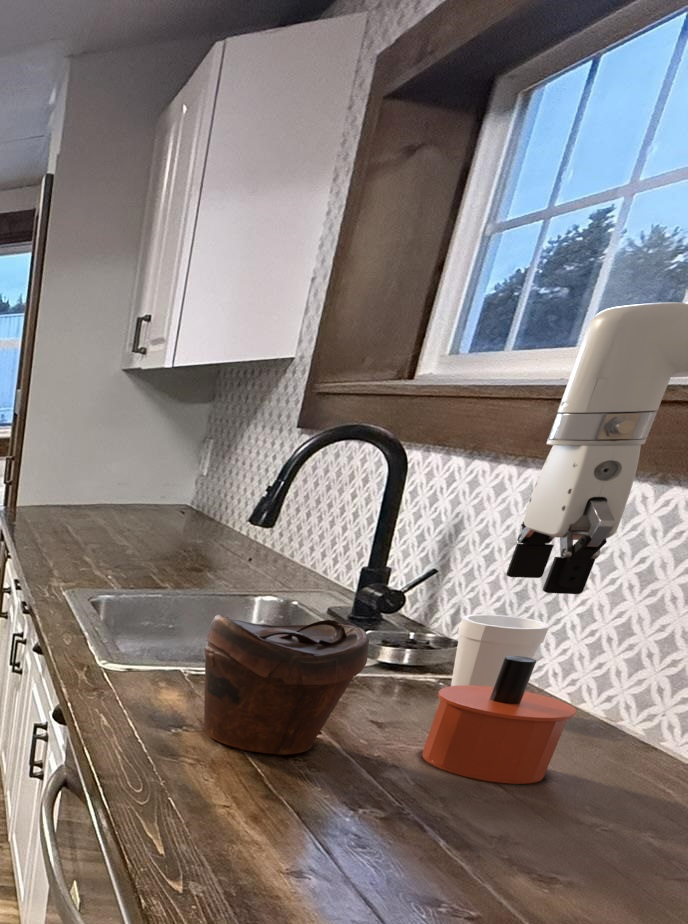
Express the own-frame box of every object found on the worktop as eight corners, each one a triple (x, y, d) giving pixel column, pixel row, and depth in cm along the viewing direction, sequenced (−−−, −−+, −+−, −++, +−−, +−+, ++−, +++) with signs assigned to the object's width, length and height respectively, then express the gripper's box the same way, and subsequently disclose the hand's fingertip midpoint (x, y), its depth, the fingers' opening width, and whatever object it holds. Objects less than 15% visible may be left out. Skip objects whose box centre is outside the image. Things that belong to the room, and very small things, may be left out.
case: (370, 745, 115) (410, 619, 108) (285, 775, 107) (322, 642, 100) (239, 709, 130) (267, 596, 123) (156, 733, 122) (181, 614, 115)
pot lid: (545, 698, 107) (565, 649, 105) (594, 731, 97) (617, 678, 94) (422, 688, 112) (437, 642, 110) (455, 719, 102) (473, 668, 100)
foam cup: (525, 704, 127) (557, 621, 122) (507, 717, 122) (539, 632, 117) (446, 689, 134) (473, 611, 129) (426, 701, 130) (453, 620, 125)
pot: (520, 755, 110) (544, 695, 107) (561, 789, 100) (588, 724, 97) (410, 744, 115) (429, 686, 112) (439, 775, 105) (461, 713, 102)
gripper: (695, 432, 82) (625, 602, 89) (604, 426, 96) (549, 573, 103) (593, 434, 85) (532, 598, 92) (519, 428, 99) (471, 570, 106)
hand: (541, 584), depth 97 cm, fingers open, 9 cm apart
